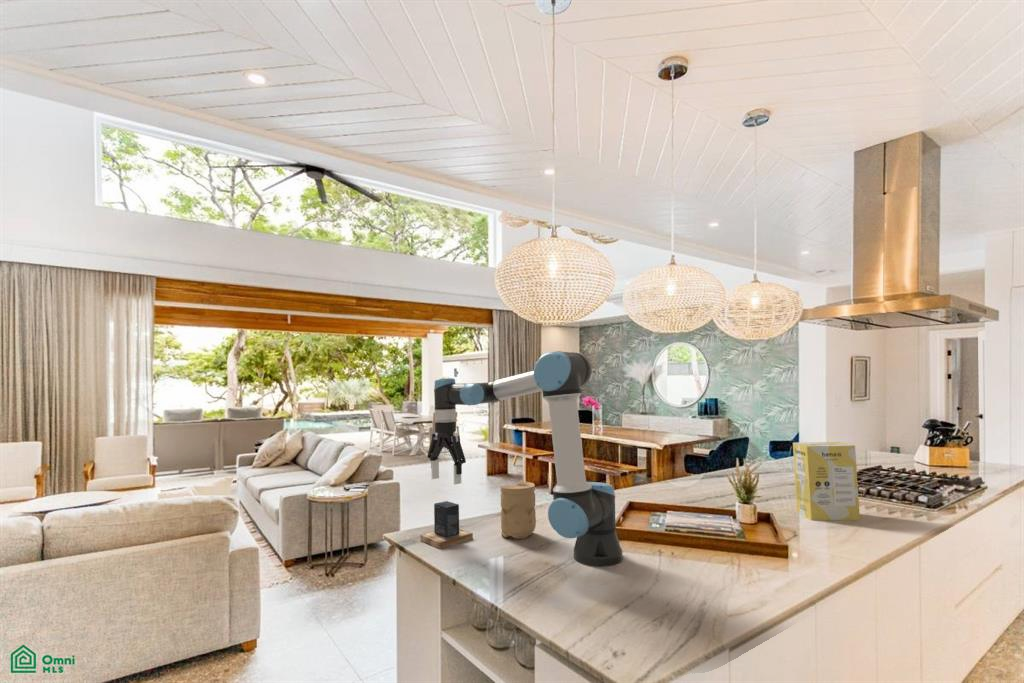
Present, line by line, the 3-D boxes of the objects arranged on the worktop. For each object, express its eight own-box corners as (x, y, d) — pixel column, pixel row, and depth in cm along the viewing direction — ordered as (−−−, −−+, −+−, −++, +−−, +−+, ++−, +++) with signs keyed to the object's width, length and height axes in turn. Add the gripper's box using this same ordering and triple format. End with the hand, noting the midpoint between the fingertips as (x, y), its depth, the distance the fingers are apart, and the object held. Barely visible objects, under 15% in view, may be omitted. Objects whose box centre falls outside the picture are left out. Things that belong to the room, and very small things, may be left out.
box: (459, 534, 177) (459, 504, 178) (446, 538, 174) (445, 507, 174) (447, 529, 183) (446, 500, 184) (433, 533, 179) (433, 503, 180)
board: (472, 539, 179) (472, 532, 179) (440, 548, 169) (439, 542, 169) (452, 531, 187) (452, 526, 188) (420, 540, 178) (420, 534, 178)
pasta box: (842, 512, 203) (838, 441, 204) (859, 519, 192) (855, 445, 194) (796, 512, 203) (792, 442, 205) (811, 520, 193) (806, 446, 195)
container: (494, 535, 182) (493, 485, 183) (519, 528, 190) (518, 479, 192) (517, 543, 173) (516, 490, 174) (543, 535, 181) (542, 484, 182)
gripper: (475, 422, 175) (476, 484, 173) (434, 418, 193) (435, 475, 191) (457, 423, 169) (458, 487, 168) (417, 420, 188) (418, 478, 186)
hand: (446, 481), depth 180 cm, fingers open, 13 cm apart
